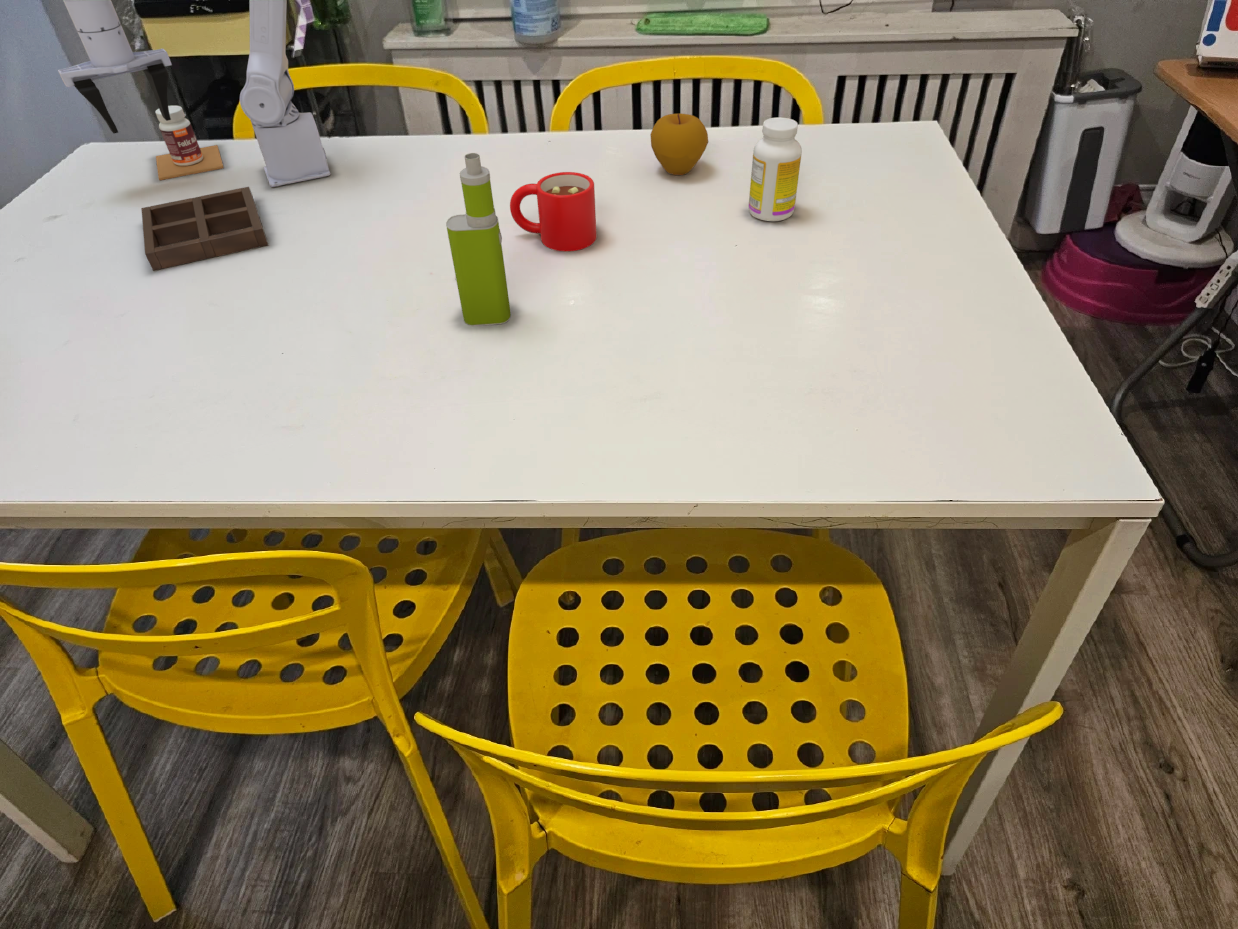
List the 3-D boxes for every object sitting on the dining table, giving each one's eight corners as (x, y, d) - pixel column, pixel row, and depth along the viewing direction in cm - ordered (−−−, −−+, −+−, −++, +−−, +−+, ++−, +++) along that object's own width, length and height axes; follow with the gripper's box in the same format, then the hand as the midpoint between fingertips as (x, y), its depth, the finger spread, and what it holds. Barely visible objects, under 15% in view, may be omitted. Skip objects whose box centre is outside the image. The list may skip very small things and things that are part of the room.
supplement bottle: (798, 206, 117) (811, 118, 108) (786, 226, 113) (798, 135, 104) (755, 199, 119) (764, 111, 111) (741, 218, 115) (749, 128, 106)
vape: (512, 323, 97) (490, 161, 83) (462, 326, 96) (432, 165, 83) (512, 306, 99) (491, 147, 86) (464, 309, 99) (435, 151, 85)
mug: (518, 223, 116) (511, 170, 110) (599, 224, 115) (597, 171, 109) (507, 249, 110) (500, 195, 105) (593, 251, 109) (590, 197, 104)
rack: (254, 202, 122) (248, 186, 121) (268, 245, 112) (262, 228, 111) (148, 224, 118) (141, 207, 116) (153, 270, 108) (144, 253, 106)
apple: (703, 158, 131) (706, 102, 124) (709, 182, 124) (713, 123, 118) (648, 160, 130) (648, 104, 124) (652, 184, 124) (652, 125, 118)
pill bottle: (189, 168, 131) (168, 116, 125) (167, 164, 133) (145, 112, 127) (210, 157, 134) (190, 106, 129) (188, 153, 136) (168, 102, 130)
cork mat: (218, 146, 139) (217, 144, 138) (223, 168, 132) (223, 165, 132) (156, 158, 136) (155, 155, 135) (159, 180, 129) (158, 178, 129)
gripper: (48, 44, 107) (96, 144, 116) (160, 22, 113) (197, 120, 122) (38, 32, 111) (85, 130, 120) (146, 12, 117) (183, 107, 126)
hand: (141, 124), depth 122 cm, fingers open, 7 cm apart
